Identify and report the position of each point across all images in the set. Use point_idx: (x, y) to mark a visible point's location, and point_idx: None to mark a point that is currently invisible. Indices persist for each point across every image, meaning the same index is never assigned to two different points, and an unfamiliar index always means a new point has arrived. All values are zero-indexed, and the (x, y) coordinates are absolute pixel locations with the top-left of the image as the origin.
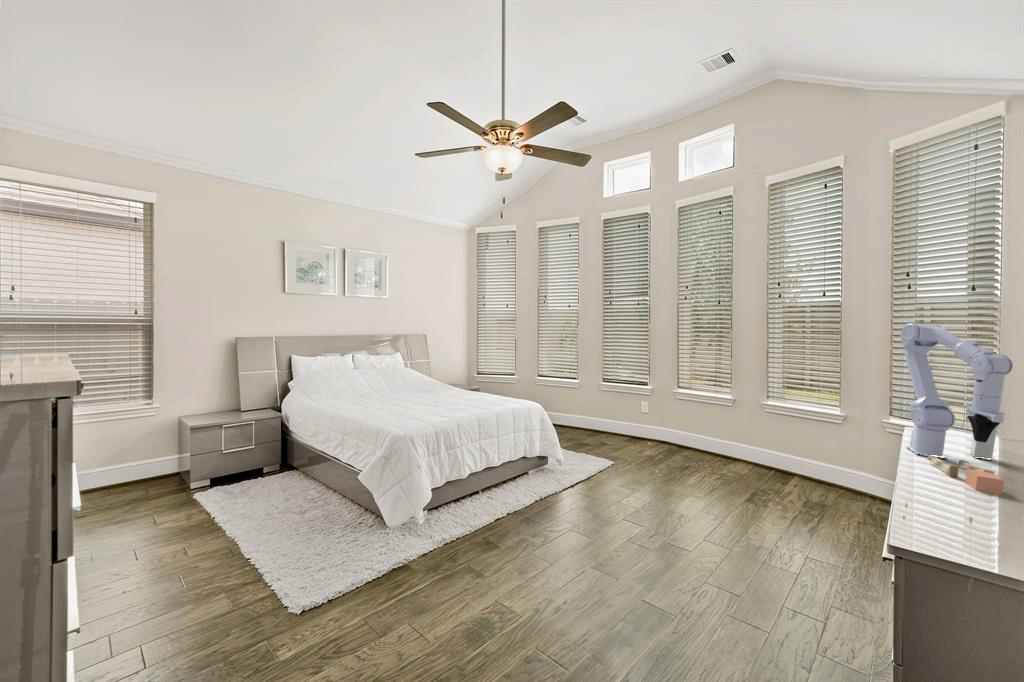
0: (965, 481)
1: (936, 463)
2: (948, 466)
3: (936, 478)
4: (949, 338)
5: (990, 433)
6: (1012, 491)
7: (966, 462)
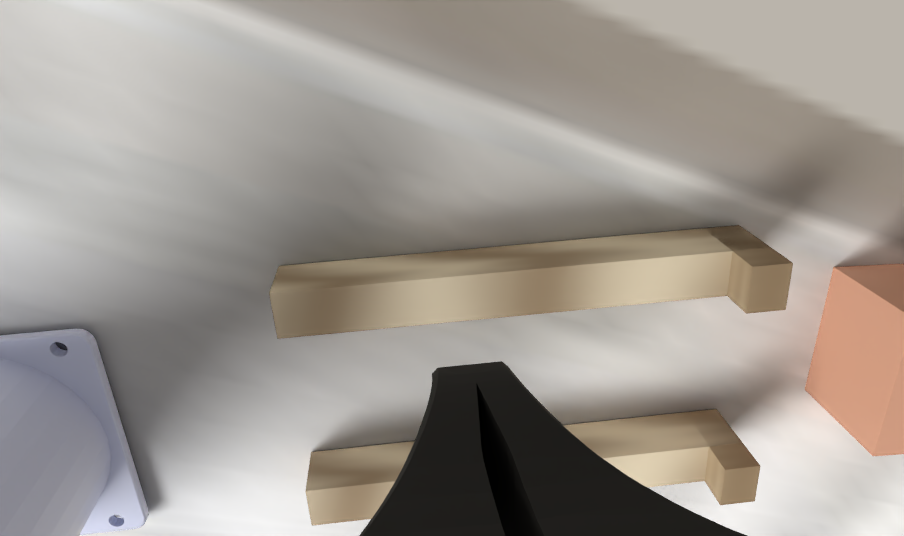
0: (811, 393)
1: None
2: (634, 470)
3: (798, 516)
4: None
5: (575, 438)
6: (885, 152)
7: (358, 306)
